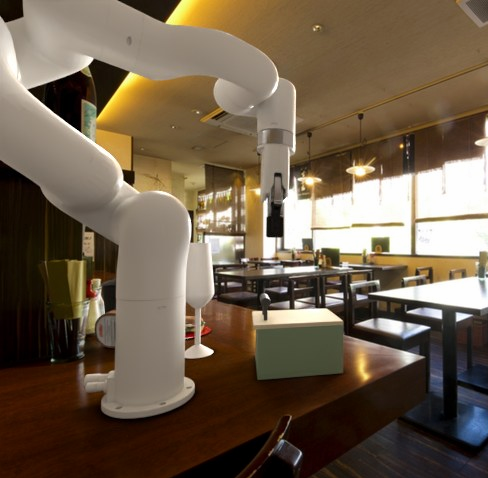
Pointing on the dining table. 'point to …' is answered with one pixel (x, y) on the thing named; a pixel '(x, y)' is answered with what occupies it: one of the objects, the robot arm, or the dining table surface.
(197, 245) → the champagne flute
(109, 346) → the tin
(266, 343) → the chest
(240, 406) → the dining table surface
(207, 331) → the hamburger
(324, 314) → the lid
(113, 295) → the drinking cup
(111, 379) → the robot arm
